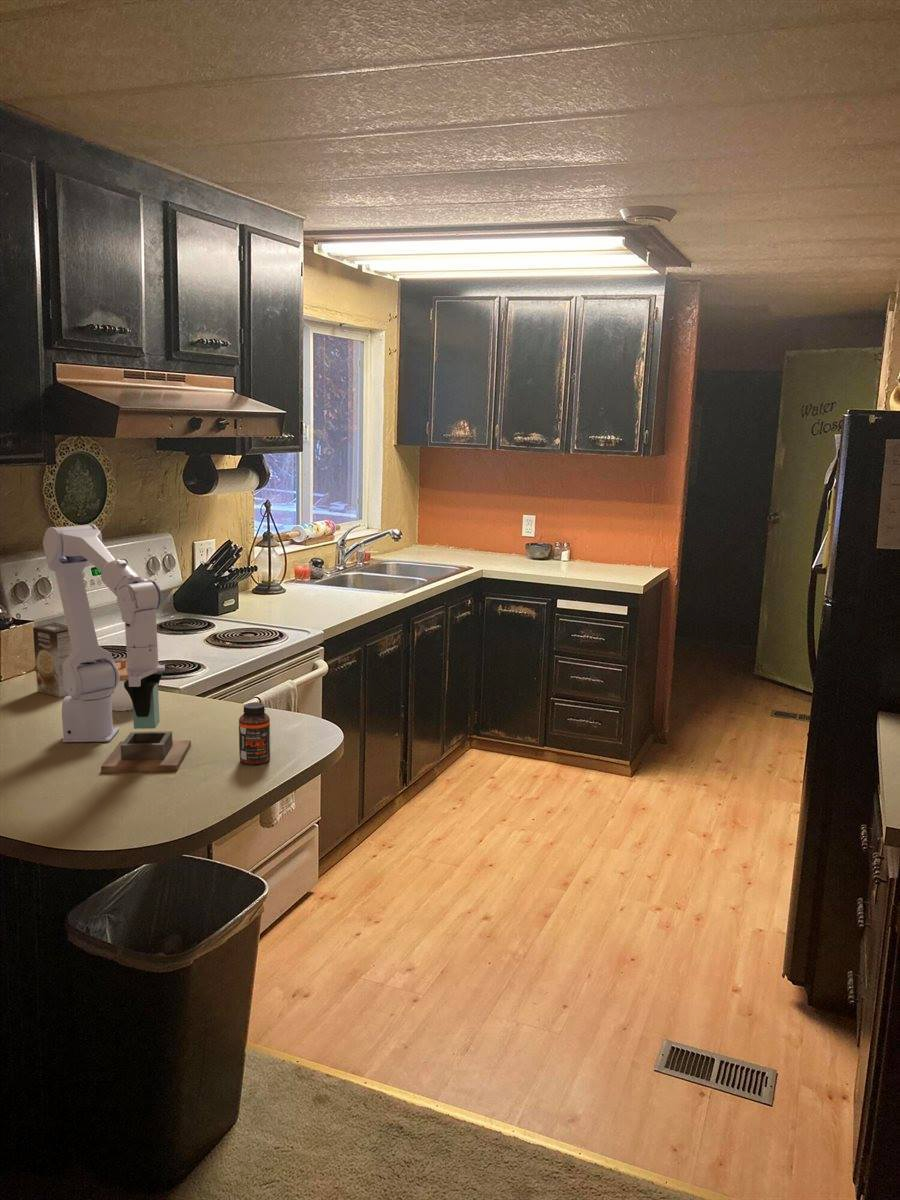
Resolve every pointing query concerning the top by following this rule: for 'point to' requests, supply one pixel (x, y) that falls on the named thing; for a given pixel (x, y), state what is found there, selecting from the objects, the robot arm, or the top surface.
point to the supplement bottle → (254, 734)
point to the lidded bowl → (121, 690)
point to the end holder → (147, 753)
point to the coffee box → (51, 657)
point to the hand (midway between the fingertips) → (145, 712)
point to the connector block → (153, 713)
